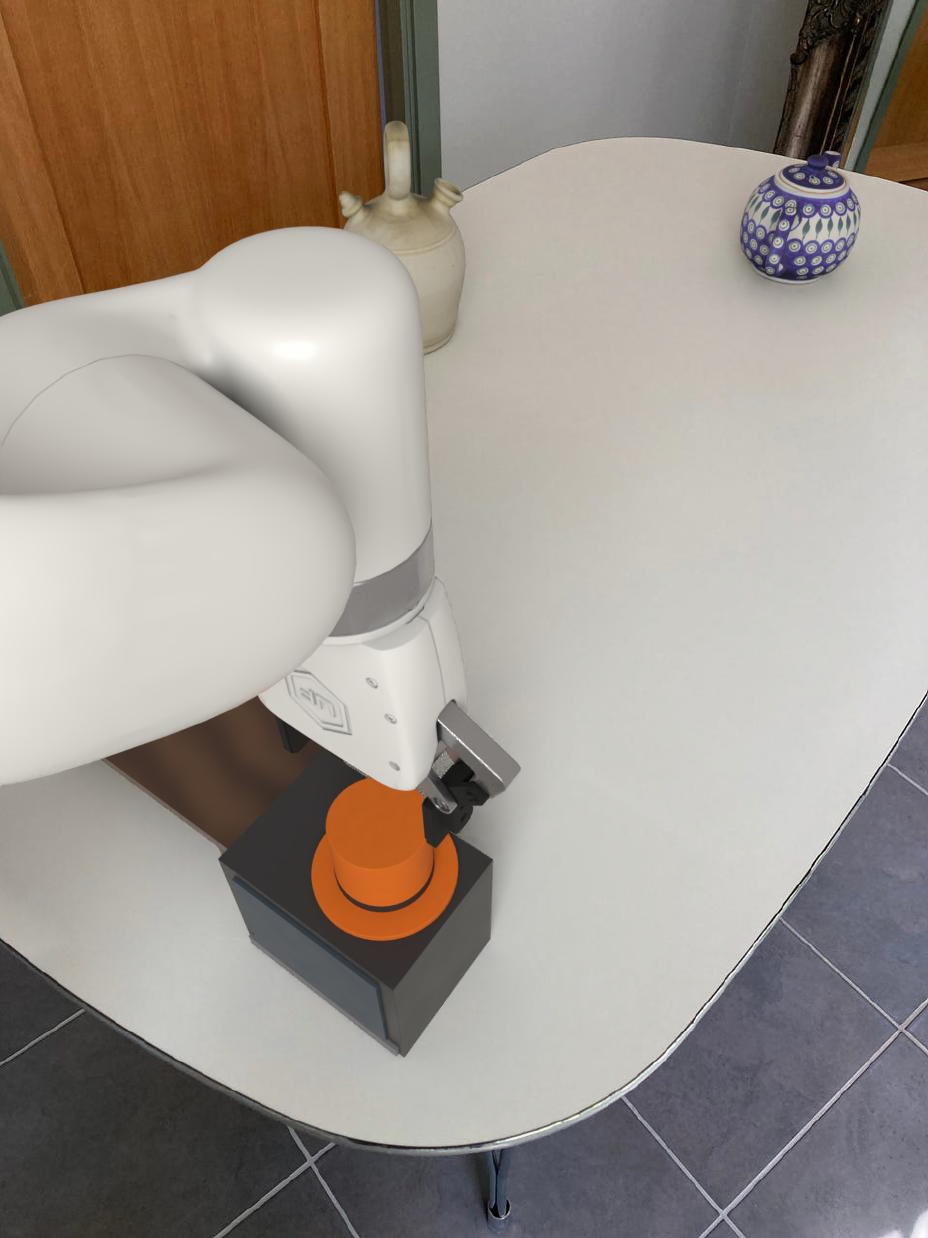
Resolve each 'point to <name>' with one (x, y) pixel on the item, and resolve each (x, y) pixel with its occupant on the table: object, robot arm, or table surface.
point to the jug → (416, 235)
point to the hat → (381, 864)
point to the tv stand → (218, 770)
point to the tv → (328, 956)
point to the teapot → (801, 221)
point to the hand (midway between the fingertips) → (375, 777)
